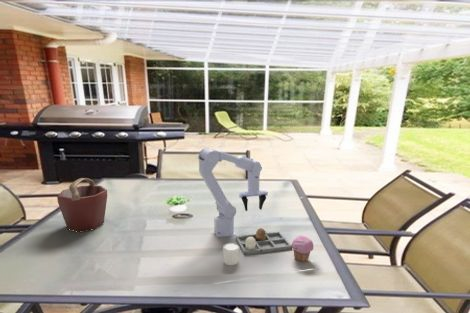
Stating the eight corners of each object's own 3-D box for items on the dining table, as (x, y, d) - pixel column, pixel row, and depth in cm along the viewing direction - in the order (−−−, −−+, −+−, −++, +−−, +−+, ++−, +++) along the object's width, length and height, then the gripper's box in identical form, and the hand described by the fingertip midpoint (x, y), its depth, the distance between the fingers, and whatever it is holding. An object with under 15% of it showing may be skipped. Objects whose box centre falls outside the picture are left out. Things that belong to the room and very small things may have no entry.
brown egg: (257, 243, 142) (257, 231, 141) (254, 238, 146) (255, 227, 145) (266, 242, 143) (267, 230, 142) (263, 238, 147) (264, 226, 146)
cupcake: (297, 252, 135) (298, 230, 133) (316, 258, 130) (317, 236, 128) (287, 260, 128) (288, 238, 126) (306, 267, 123) (307, 244, 121)
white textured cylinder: (230, 256, 132) (230, 241, 130) (242, 261, 127) (243, 246, 126) (219, 263, 126) (219, 247, 125) (232, 269, 122) (232, 252, 121)
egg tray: (244, 256, 132) (244, 251, 132) (235, 240, 146) (235, 236, 146) (291, 249, 137) (292, 245, 137) (279, 235, 151) (279, 231, 151)
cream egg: (247, 252, 134) (247, 240, 133) (244, 247, 138) (244, 235, 137) (256, 251, 135) (257, 238, 134) (253, 246, 139) (253, 234, 138)
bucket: (88, 237, 149) (83, 187, 144) (48, 233, 153) (42, 185, 148) (117, 218, 172) (113, 174, 167) (81, 215, 177) (77, 172, 172)
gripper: (241, 187, 151) (241, 213, 154) (269, 185, 154) (269, 211, 157) (238, 183, 158) (238, 208, 160) (265, 181, 161) (264, 206, 164)
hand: (253, 209), depth 159 cm, fingers open, 7 cm apart
